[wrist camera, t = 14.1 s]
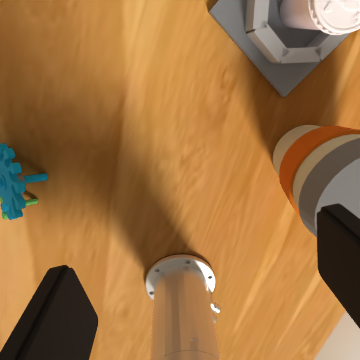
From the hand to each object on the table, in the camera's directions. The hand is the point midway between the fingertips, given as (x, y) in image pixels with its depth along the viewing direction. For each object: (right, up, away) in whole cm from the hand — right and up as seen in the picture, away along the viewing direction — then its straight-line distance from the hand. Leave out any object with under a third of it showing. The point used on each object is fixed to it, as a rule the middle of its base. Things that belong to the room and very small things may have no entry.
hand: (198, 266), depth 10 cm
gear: (-24, +4, +28) cm, 37 cm away
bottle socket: (+12, +23, +21) cm, 34 cm away
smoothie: (+12, +23, +20) cm, 33 cm away
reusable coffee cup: (+17, +7, +29) cm, 35 cm away
